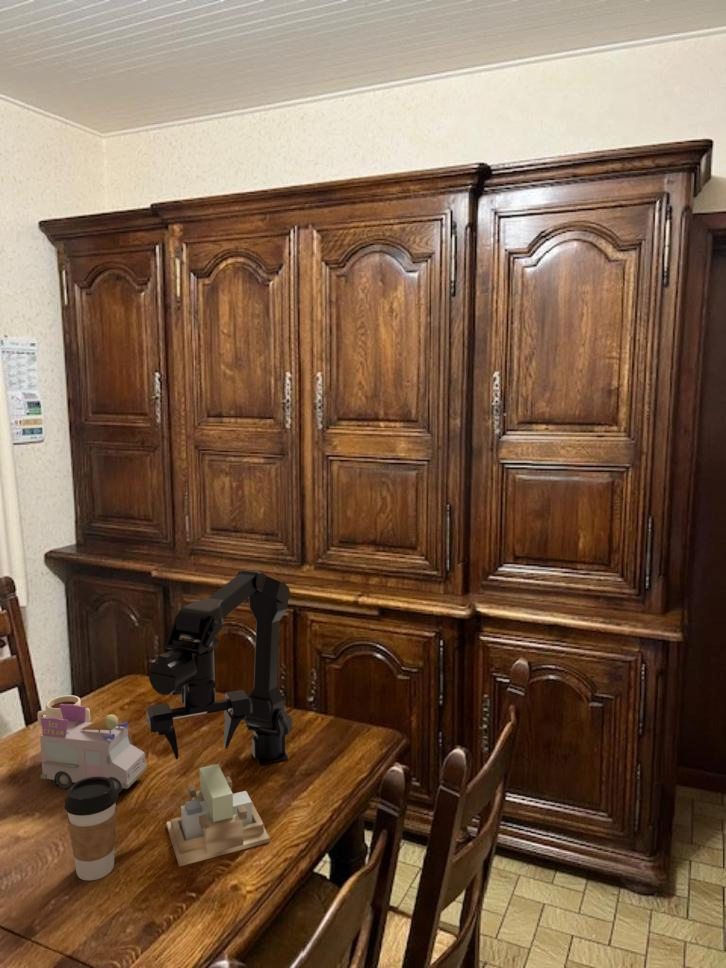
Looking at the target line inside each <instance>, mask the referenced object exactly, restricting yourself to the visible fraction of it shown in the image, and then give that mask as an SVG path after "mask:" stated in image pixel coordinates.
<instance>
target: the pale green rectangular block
mask: <svg viewBox="0 0 726 968" xmlns="http://www.w3.org/2000/svg"><path fill="white" fill-rule="evenodd" d="M225 777H226V776H225V775H224V773H223V771H222V769H221V767H220V764H219V763H217V764H211V765H207V766H202V767H199V786H200V788H199V790H200V791H201V793H202V796H203V798H204V801H205V803H206V805H207V808H208V810H209V813H210V815H211V817H212V820H213V822H217V821H221V820H225V819H229V818H233V794H234V793H233V791H232V789H230V787H229V785H228V783H227V781H226V779H225Z"/></svg>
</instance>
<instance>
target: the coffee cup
mask: <svg viewBox="0 0 726 968" xmlns="http://www.w3.org/2000/svg"><path fill="white" fill-rule="evenodd" d="M66 792H67V793H66V797H65V800H64V805H63V806H64V810H65V811H66V812H67V815H68V816H67V824H68V830H69V837H70V841H71V842H70V843H71V848H72V854H73V857H74V863H75V864H74V865H75V872H76V875H77V877H78V878H79V879H81V880H83V881H96V880H99V879H102V878H104V877H107V875H109V874H110V873H111V872H112V871H113V869H114V865H115V845H116V830H117V829H116V827H117V825H116V824H117V806H116V803H117V801H118V797H119V793H118V794H117V790H116V788H115V786H114V782H113V781H112V780H111V779H109V778H106V777H98V776H97V777H89V778H85V779H82V780H80V781H78V782H73V784H72V785H71V786H70V787H68V788H67V791H66Z"/></svg>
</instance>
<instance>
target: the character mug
mask: <svg viewBox="0 0 726 968" xmlns="http://www.w3.org/2000/svg"><path fill="white" fill-rule="evenodd" d="M81 703H82V702H81V698H80V697H79V696H76V695H73V694H72V695H71V694H70V695H68V694H65V695H60V696H57V697H53V698H51V699H50V700H48V701H47V702H46V703H45V710H39V711H38V712H37V723H38V724H37V725H38V726H42V724H41V718H42V717H43V716H45V718H59V719H63V716H62V712H61V709H60V704H64V705H69V704H72V705H78V706H81V705H82V704H81ZM86 722H91V710H90V708H89V707H86Z"/></svg>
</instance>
